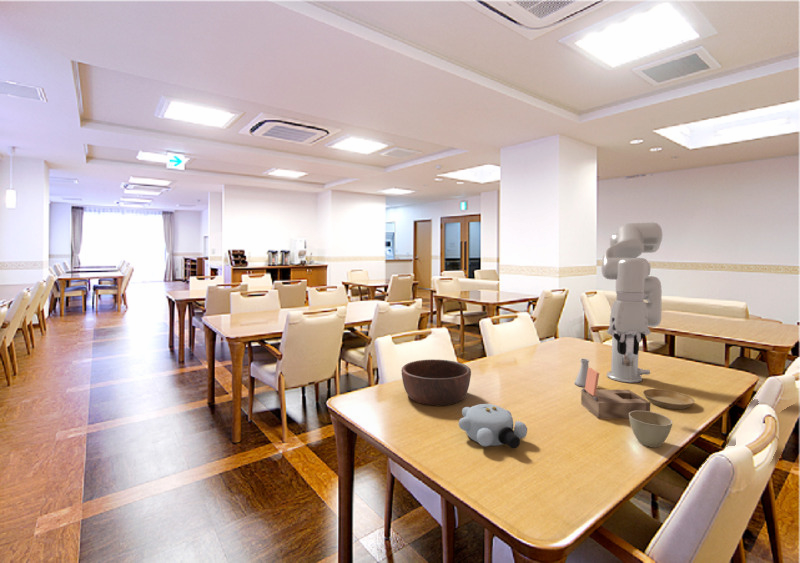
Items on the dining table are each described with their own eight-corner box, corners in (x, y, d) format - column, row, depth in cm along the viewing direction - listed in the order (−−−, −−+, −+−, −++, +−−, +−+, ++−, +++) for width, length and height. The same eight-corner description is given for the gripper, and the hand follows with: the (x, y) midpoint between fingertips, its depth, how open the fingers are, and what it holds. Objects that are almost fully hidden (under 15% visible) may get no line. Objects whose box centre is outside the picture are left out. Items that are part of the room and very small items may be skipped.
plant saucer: (659, 393, 147) (659, 386, 147) (703, 407, 133) (704, 399, 133) (633, 399, 141) (633, 392, 140) (677, 415, 127) (677, 407, 127)
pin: (630, 362, 131) (631, 328, 130) (638, 366, 127) (640, 330, 126) (616, 362, 131) (617, 328, 130) (624, 366, 127) (625, 331, 126)
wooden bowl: (484, 395, 145) (484, 367, 144) (442, 415, 127) (442, 384, 126) (430, 380, 162) (430, 355, 161) (387, 396, 144) (387, 368, 143)
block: (628, 403, 136) (628, 386, 136) (649, 418, 124) (650, 399, 124) (579, 403, 136) (580, 386, 136) (596, 418, 124) (597, 399, 124)
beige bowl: (672, 455, 101) (673, 428, 101) (627, 445, 107) (628, 419, 106) (670, 440, 110) (671, 414, 109) (628, 431, 115) (629, 407, 114)
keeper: (584, 389, 133) (587, 389, 133) (593, 395, 127) (595, 396, 127) (588, 367, 132) (590, 367, 132) (596, 372, 126) (599, 373, 126)
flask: (596, 388, 152) (597, 362, 151) (576, 387, 153) (577, 361, 152) (591, 382, 159) (592, 357, 158) (572, 381, 160) (572, 356, 159)
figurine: (446, 427, 118) (485, 467, 100) (448, 400, 116) (488, 435, 98) (494, 417, 125) (540, 453, 106) (496, 391, 123) (543, 423, 105)
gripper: (648, 295, 131) (646, 350, 132) (598, 296, 131) (596, 350, 133) (663, 298, 124) (660, 356, 125) (609, 298, 124) (607, 356, 125)
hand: (627, 353), depth 129 cm, fingers closed on pin, 3 cm apart
